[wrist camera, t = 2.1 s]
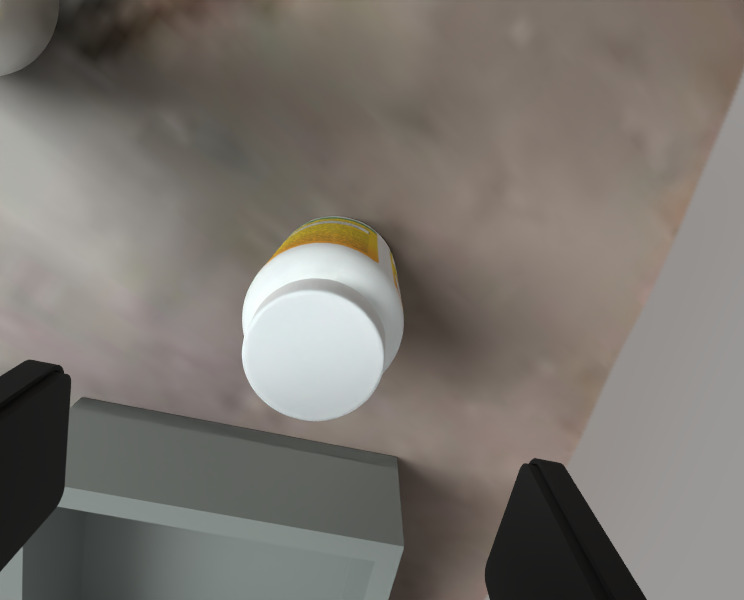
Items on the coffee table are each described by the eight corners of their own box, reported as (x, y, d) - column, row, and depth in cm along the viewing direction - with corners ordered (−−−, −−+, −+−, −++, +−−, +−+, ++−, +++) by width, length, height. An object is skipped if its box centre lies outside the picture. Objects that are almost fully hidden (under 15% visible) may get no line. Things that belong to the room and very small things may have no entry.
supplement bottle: (418, 283, 23) (449, 379, 14) (326, 347, 24) (300, 476, 15) (346, 187, 22) (331, 225, 13) (252, 260, 23) (175, 342, 14)
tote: (81, 397, 25) (-4, 474, 19) (396, 456, 26) (404, 546, 20) (69, 633, 30) (-2, 751, 24) (335, 675, 31) (328, 797, 25)
